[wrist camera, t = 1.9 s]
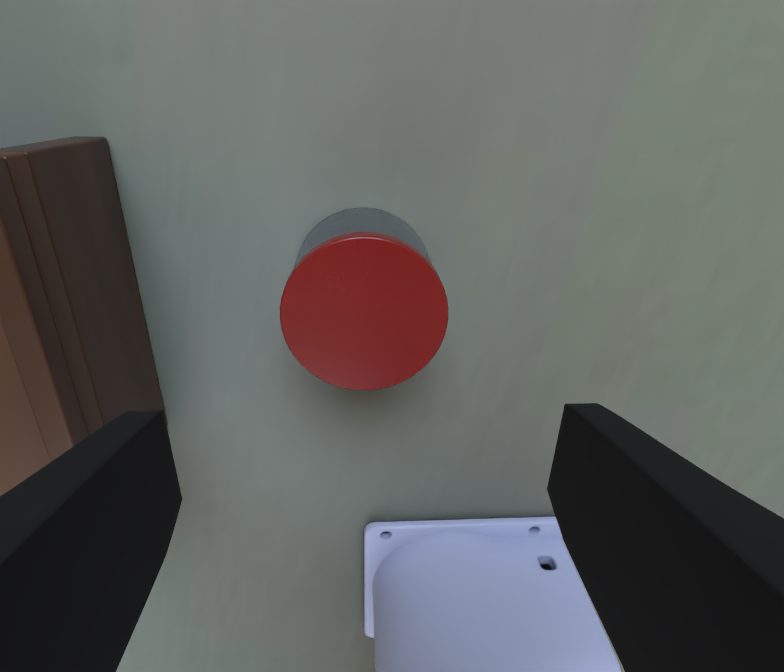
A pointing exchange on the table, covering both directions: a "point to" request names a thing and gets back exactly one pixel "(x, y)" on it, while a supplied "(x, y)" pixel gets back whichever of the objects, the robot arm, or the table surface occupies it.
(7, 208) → the rack
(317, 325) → the spice tin
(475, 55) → the table surface
